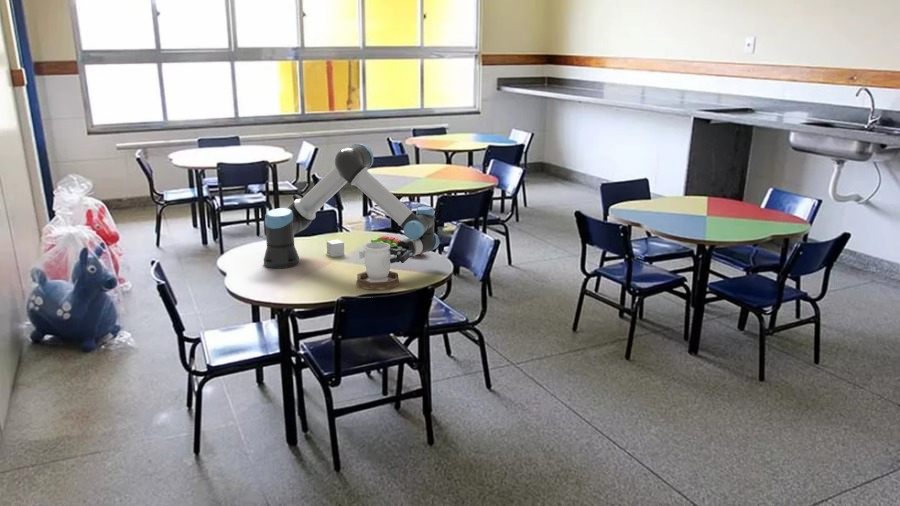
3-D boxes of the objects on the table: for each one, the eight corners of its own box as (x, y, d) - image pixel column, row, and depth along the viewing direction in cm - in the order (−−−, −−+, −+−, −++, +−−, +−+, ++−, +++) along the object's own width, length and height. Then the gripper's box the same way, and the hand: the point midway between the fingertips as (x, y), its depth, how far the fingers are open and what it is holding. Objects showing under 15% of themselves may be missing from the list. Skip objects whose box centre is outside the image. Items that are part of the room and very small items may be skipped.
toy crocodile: (369, 246, 328) (368, 234, 326) (377, 243, 333) (377, 231, 331) (403, 253, 318) (403, 240, 316) (411, 250, 324) (411, 237, 322)
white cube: (344, 255, 314) (344, 242, 313) (332, 257, 311) (331, 244, 310) (339, 251, 319) (338, 239, 317) (327, 253, 316) (326, 241, 314)
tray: (356, 290, 269) (356, 284, 269) (356, 276, 286) (356, 270, 285) (400, 289, 272) (400, 282, 271) (398, 275, 288) (397, 269, 287)
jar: (386, 286, 272) (386, 250, 268) (361, 284, 274) (360, 248, 270) (394, 277, 282) (393, 242, 278) (369, 275, 284) (369, 241, 280)
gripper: (430, 262, 282) (393, 274, 266) (388, 250, 297) (351, 261, 282) (431, 245, 279) (393, 256, 264) (388, 233, 295) (350, 243, 280)
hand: (371, 258), depth 273 cm, fingers open, 13 cm apart
